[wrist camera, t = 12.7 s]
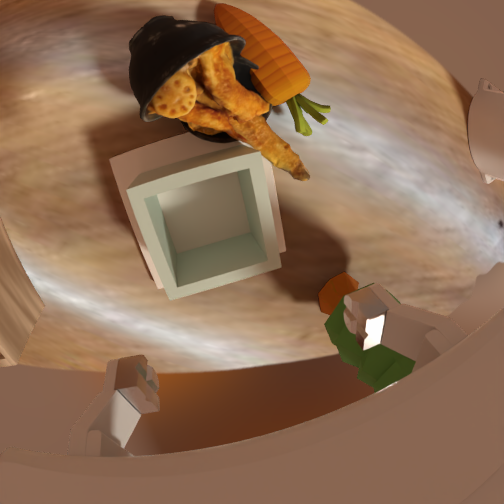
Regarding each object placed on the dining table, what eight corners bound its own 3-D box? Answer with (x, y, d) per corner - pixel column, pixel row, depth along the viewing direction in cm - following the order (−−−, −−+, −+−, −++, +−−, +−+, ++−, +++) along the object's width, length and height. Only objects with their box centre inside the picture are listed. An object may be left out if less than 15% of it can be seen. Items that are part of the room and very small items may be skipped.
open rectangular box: (258, 115, 23) (285, 114, 17) (283, 247, 30) (309, 280, 24) (111, 157, 22) (87, 170, 16) (158, 284, 29) (155, 326, 23)
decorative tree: (299, 283, 33) (449, 515, 7) (363, 245, 33) (543, 424, 7) (320, 330, 38) (431, 511, 12) (374, 296, 38) (504, 451, 12)
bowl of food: (138, -16, 8) (349, 225, 14) (228, -4, 15) (358, 151, 22) (77, 90, 14) (235, 268, 20) (166, 61, 21) (279, 192, 28)
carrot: (213, -14, 13) (328, 132, 18) (250, -12, 16) (348, 114, 21) (182, 24, 17) (281, 154, 22) (220, 18, 20) (306, 133, 25)
